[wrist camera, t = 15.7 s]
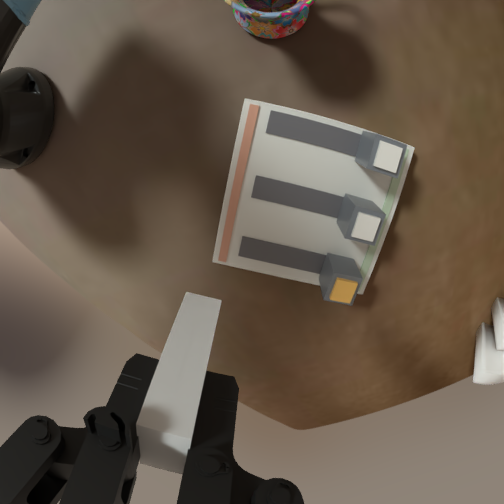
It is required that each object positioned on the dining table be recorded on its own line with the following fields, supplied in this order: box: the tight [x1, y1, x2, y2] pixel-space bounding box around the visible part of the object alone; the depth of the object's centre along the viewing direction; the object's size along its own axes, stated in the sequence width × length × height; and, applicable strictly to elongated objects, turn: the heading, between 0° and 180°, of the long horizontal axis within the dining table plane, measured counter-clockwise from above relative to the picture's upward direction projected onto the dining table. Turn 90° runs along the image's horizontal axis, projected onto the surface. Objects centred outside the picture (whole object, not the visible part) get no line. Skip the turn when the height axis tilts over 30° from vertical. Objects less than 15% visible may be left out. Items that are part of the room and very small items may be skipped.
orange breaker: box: [319, 253, 363, 306], centre depth 36 cm, size 4×4×6 cm
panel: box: [212, 99, 415, 295], centre depth 34 cm, size 20×20×7 cm
